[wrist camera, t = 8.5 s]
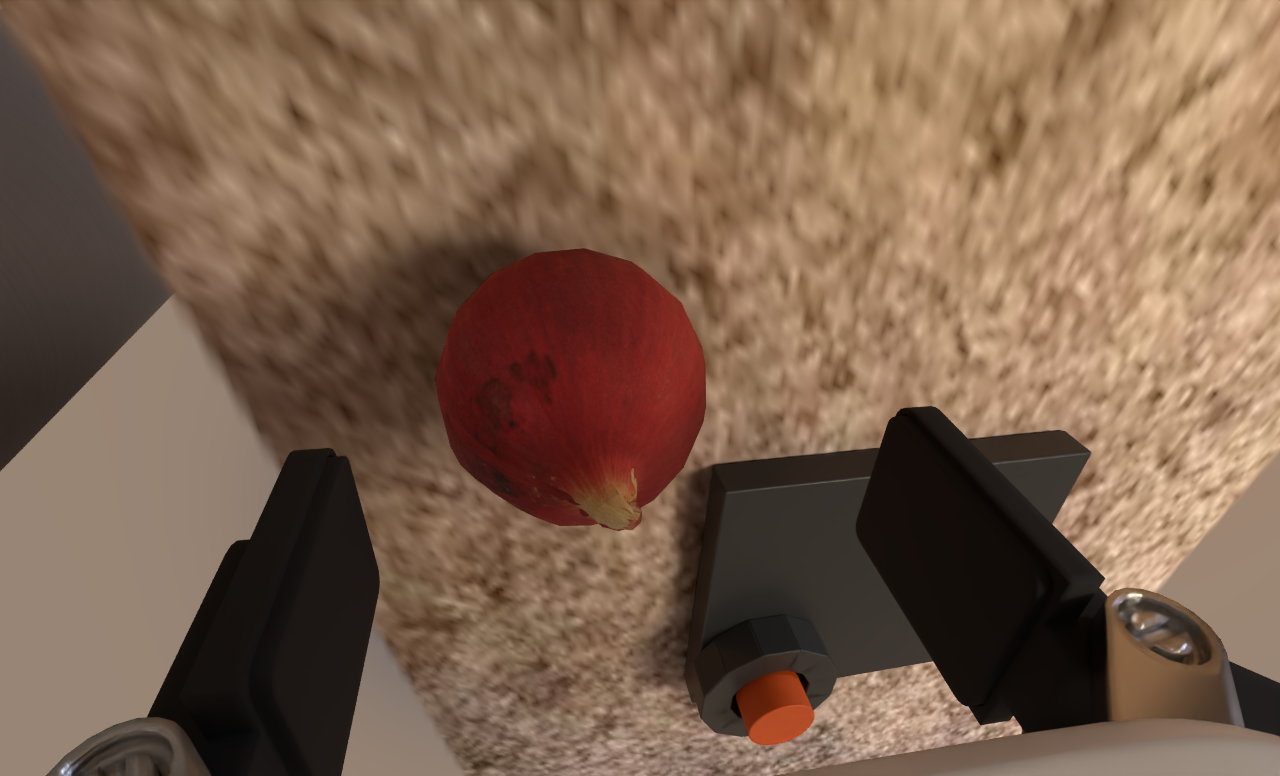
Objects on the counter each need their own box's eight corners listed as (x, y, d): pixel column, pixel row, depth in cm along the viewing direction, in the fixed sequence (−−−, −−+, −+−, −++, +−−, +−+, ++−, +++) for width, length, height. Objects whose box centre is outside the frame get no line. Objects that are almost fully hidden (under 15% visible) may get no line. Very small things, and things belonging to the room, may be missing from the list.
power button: (731, 711, 25) (744, 750, 24) (739, 673, 24) (754, 712, 22) (791, 701, 26) (807, 738, 24) (803, 662, 24) (821, 700, 23)
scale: (677, 678, 28) (695, 746, 25) (705, 465, 21) (733, 529, 19) (960, 631, 31) (1002, 688, 28) (1064, 429, 24) (1130, 481, 21)
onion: (472, 413, 18) (463, 661, 12) (422, 219, 15) (371, 411, 8) (667, 383, 19) (761, 598, 12) (660, 192, 16) (782, 347, 9)
